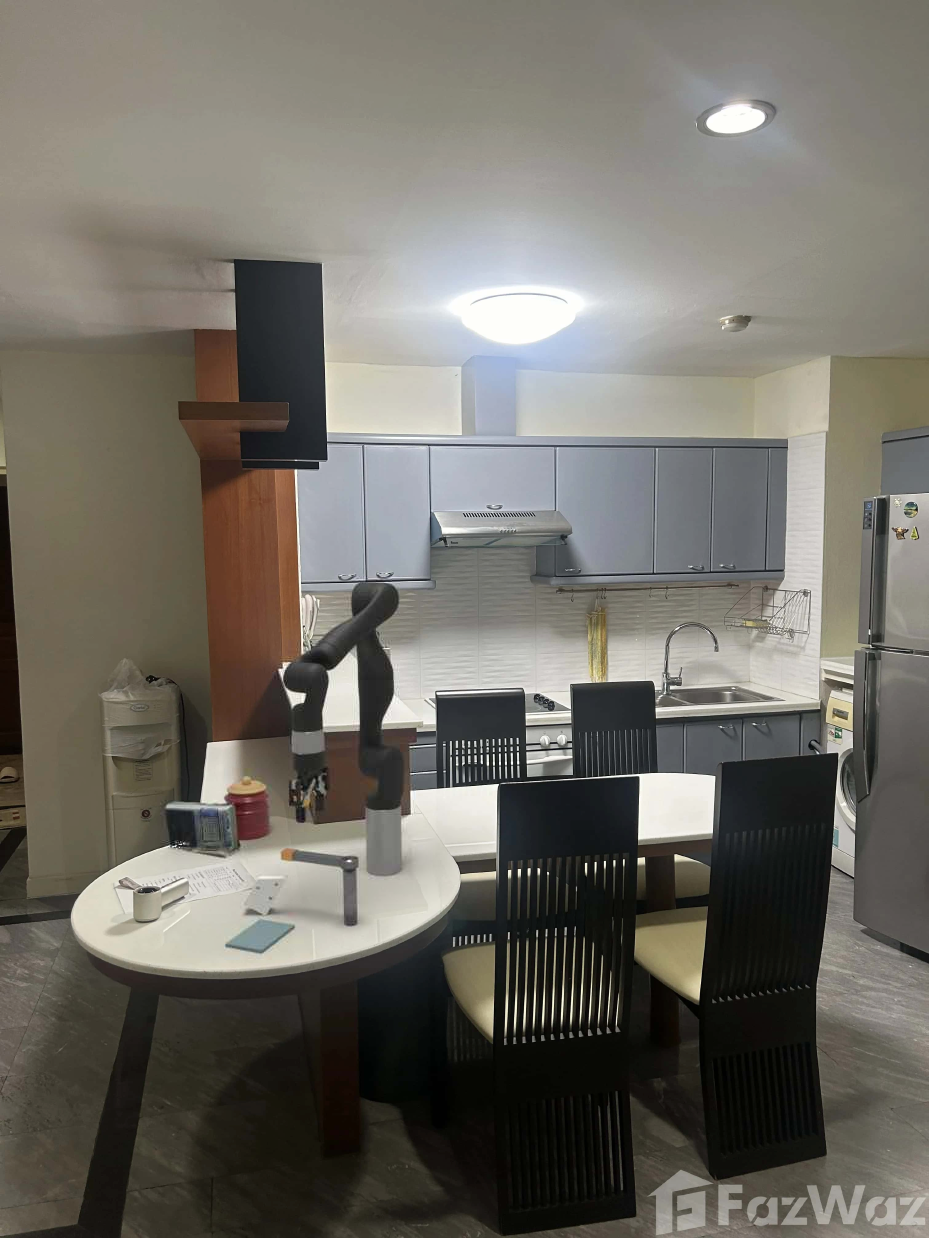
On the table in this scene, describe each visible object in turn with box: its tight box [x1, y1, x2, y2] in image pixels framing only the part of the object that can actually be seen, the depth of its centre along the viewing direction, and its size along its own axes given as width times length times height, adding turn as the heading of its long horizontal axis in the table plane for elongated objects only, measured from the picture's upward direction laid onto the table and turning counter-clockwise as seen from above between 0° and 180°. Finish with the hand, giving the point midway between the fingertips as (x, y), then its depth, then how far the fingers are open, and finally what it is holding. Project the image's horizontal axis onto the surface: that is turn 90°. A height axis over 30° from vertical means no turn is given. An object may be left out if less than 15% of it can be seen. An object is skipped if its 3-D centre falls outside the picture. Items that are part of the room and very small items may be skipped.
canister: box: [223, 775, 271, 841], centre depth 258 cm, size 13×13×18 cm
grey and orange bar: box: [280, 847, 360, 870], centre depth 200 cm, size 19×4×2 cm, turn 70°
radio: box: [164, 801, 242, 859], centre depth 245 cm, size 23×8×14 cm, turn 61°
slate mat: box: [224, 918, 296, 955], centre depth 191 cm, size 13×9×1 cm
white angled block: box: [243, 875, 289, 916], centre depth 204 cm, size 4×10×9 cm, turn 92°
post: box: [342, 868, 358, 927], centre depth 198 cm, size 3×3×13 cm
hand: (310, 816), depth 205 cm, fingers open, 8 cm apart
